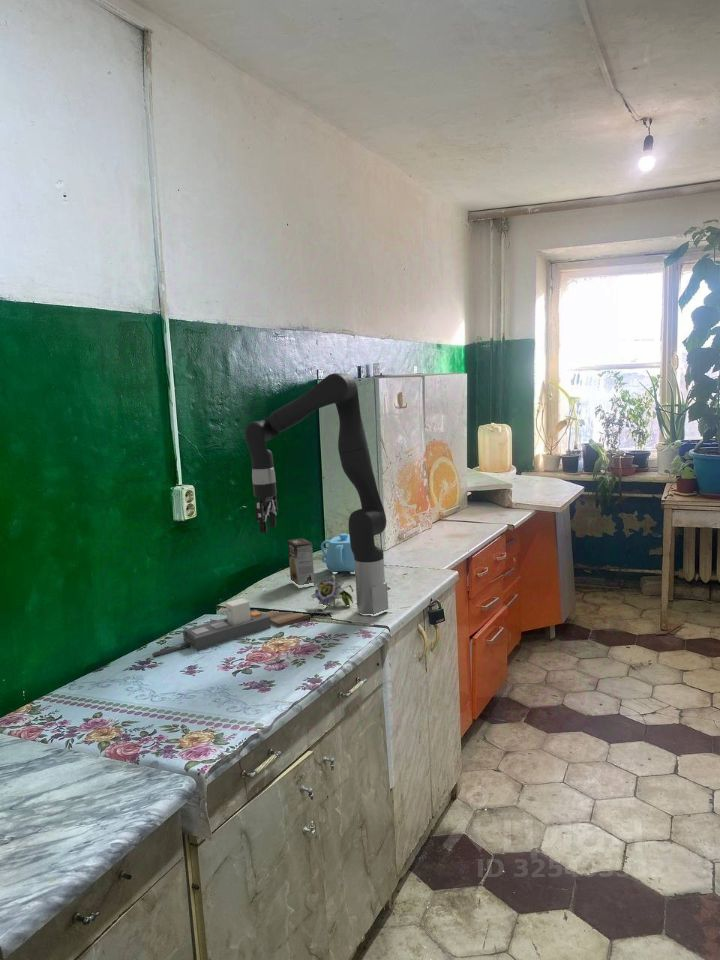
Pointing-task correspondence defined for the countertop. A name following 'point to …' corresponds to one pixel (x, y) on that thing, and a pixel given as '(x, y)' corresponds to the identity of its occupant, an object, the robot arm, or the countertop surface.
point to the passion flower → (332, 592)
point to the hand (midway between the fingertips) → (268, 529)
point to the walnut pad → (285, 617)
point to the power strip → (220, 632)
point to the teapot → (339, 554)
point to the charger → (237, 611)
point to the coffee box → (301, 561)
